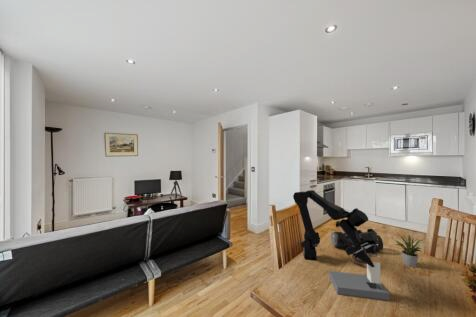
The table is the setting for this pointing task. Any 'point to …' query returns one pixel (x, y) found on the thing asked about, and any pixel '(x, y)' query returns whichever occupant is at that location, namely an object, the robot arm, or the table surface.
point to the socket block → (357, 286)
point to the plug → (374, 268)
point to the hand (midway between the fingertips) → (376, 265)
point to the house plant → (409, 251)
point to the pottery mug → (357, 260)
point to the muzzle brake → (342, 241)
